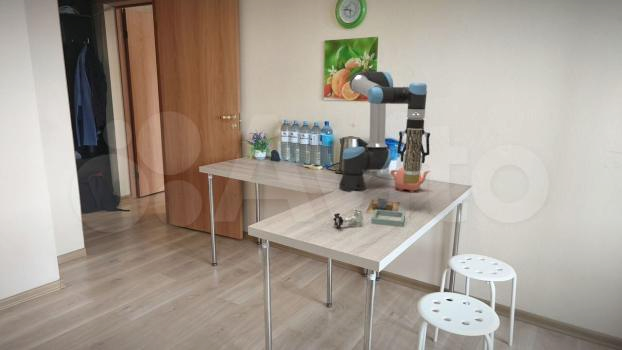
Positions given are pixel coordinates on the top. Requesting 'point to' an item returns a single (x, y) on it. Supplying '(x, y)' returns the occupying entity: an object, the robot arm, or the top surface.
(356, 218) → the valve
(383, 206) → the block
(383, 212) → the tray
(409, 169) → the log cylinder
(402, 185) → the teapot
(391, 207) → the walnut plate
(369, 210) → the board
